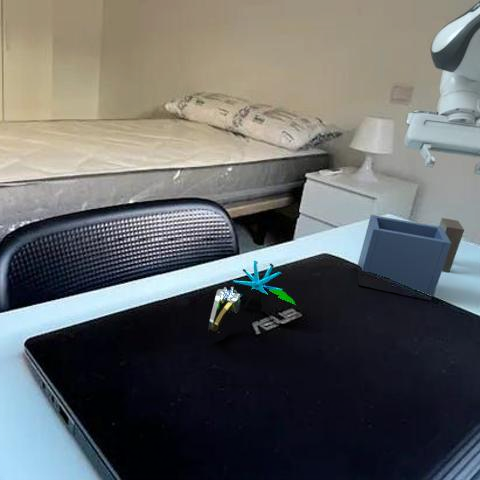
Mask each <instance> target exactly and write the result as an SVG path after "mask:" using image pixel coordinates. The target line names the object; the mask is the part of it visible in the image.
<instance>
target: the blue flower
mask: <svg viewBox="0 0 480 480" xmlns="http://www.w3.org/2000/svg"><path fill="white" fill-rule="evenodd" d="M252 262H253V275H252V274H251V273H250V272H249V271H248V270H246V269H245V268H243V269H242V272H243V273H245V275H246V276H247V278H249V279H250V281H245V280H233V283H234V282H235V283H239V284H238V285H241V284H242V285H241V286H248V287H251V288H252V289H256V290H259V291H260V292H262V293H265V294H267V295H268V293H267V292H266V291H265V290H264V288H263V287H265V288H267V289H269V291H270V292H272V293H274V294H276V295H279V296H278V298H280V299H282V300H285V301H287V302H290V303H292V304H294V305H296V306H297V303H296V302H295V300H294V299H293V298H292V297H291V296H289V295H288V293H286V292H287V290H286V289H285V288H279V287H274V286H269V285H266V284H267V283H268V282H270V281H272V280H273V279H275V278H277V277H279V276H280V277H282V276H283V274H282V272H281V271H278V272H276V273H274V274H271V273H272V271H273V270H274V267H275V265H274V264H273V263H269V268H268V269H267V270H266V272H265V274H264V276H263V278H262V279H260V276H259V269H258V263H259V262H258V261H257V260H253V261H252ZM235 283H234V284H235ZM265 285H266V286H265ZM295 303H296V304H295Z"/></svg>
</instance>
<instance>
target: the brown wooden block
mask: <svg viewBox="0 0 480 480" xmlns="http://www.w3.org/2000/svg"><path fill="white" fill-rule="evenodd" d="M438 227H443V229H444V231H445V233H446V235H447V237H448V238H449V240H450V242H451V245H450V248H449V251H448V254H447V257H446V260H445V263H444V266H443V269H442V272H445V273H450V272H451V269H452V267H453V264H454V261H455V257H456V255H457V252H458V249H459V246H460V244H461V241H462V238H463V235H464V232H465V228H464V227H463V226H462V224H461V222H460V221H459V220H456V219H450V218H444V217H441V220H440V222H439V226H438Z"/></svg>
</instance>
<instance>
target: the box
mask: <svg viewBox="0 0 480 480" xmlns="http://www.w3.org/2000/svg"><path fill="white" fill-rule="evenodd" d="M450 245H451V242H450V240H449V238H448V237H447V235H446V233H445V231H444V229H443V227H439V226H438V225H433V224H432V225H431V224H427V223H421V222H415V221H410V220H409V221H408V220H403V219H397V218H391V217H386V216H381V215H375V214H370V217H369V221H368V224H367V228H366V231H365V236H364V239H363V243H362V247H361V250H360V254H359V257H358V262H357V265H359V266H360V267H361V268H362V271H365V272H371V273H374V274H377V275H380V276H383V277H386V278H389V279H391V280H394V281H396V282H399V283H401V284H404V285H407V286H409V287H411V288H414V289H416V290H419V291H421V292H424V293H426V294H429V295H431V296H433V297H434V295H435V292H436V289H437V287H438V284H439V280H440V278H441V274H442V272H443V271H442V269H443V266H444V263H445V260H446V257H447V254H448V251H449V248H450Z"/></svg>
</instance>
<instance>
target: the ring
mask: <svg viewBox="0 0 480 480" xmlns="http://www.w3.org/2000/svg"><path fill="white" fill-rule="evenodd" d="M234 288H235V287H234V286H231V287H230V289H227V287H226V286H225V287H223V288H222V289H221V288H219V289H217V291H216V294H215V298H214V301H213V306H212V309H211V313H210V318H209V323H208V330H209V329H211V330H212V331H217V330H219V327H220V325H221V323H222V321H223V319H224V317H225V316H226V314H227V312H228V310H229V312H230V311H232V312H233V311H234V312H235V313H237V312H239V313H240V308H241V300H240V297H241V296H242V295H241V293H238V291H237V290H236V289H234ZM225 302H226V304H225V305H224V306H223V308H222V309H221V311H220V312H219V309H220V305H221V304H224V303H225ZM218 312H219V314H218ZM217 332H218V331H217Z"/></svg>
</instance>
